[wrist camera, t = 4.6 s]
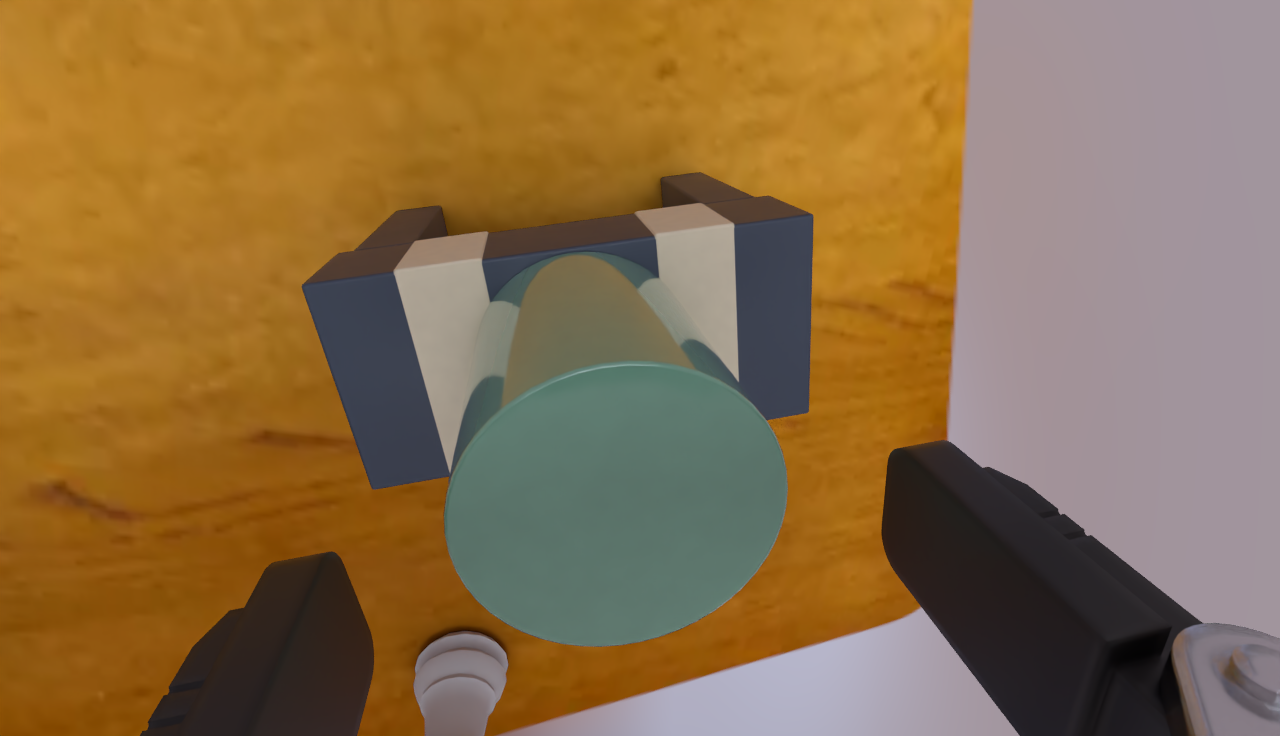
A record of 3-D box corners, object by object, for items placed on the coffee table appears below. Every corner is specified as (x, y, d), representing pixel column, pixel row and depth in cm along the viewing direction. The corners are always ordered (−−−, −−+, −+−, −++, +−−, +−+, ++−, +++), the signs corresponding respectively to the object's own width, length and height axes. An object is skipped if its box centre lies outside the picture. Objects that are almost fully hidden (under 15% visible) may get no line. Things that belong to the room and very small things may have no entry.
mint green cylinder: (498, 466, 16) (484, 677, 10) (452, 268, 14) (400, 396, 8) (696, 430, 17) (788, 612, 11) (683, 236, 14) (790, 334, 9)
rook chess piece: (520, 673, 32) (519, 843, 25) (436, 700, 32) (411, 880, 24) (490, 614, 30) (480, 780, 23) (401, 643, 30) (362, 820, 22)
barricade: (423, 357, 24) (371, 493, 16) (382, 210, 22) (298, 283, 13) (718, 311, 25) (810, 415, 17) (712, 168, 23) (815, 211, 15)
